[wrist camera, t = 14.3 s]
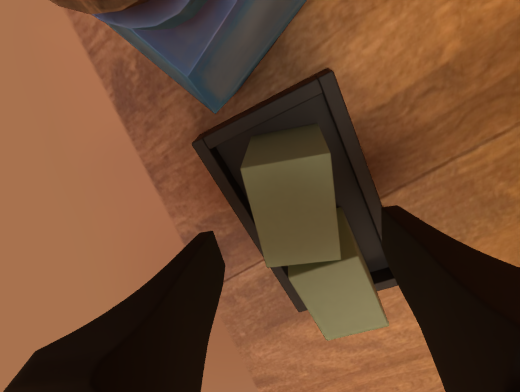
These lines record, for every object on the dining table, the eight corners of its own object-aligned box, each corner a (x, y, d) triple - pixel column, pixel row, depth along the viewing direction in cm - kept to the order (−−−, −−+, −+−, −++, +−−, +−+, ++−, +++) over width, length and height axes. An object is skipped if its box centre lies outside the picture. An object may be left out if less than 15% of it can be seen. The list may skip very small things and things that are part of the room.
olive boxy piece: (270, 218, 20) (266, 268, 15) (251, 136, 17) (239, 168, 12) (328, 209, 19) (341, 259, 14) (317, 123, 16) (330, 152, 12)
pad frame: (297, 295, 24) (298, 312, 22) (198, 134, 18) (190, 143, 16) (400, 265, 21) (409, 282, 20) (327, 67, 15) (332, 70, 14)
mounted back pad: (318, 282, 22) (326, 341, 18) (286, 226, 20) (287, 278, 15) (367, 267, 21) (390, 326, 17) (341, 205, 19) (358, 255, 14)
